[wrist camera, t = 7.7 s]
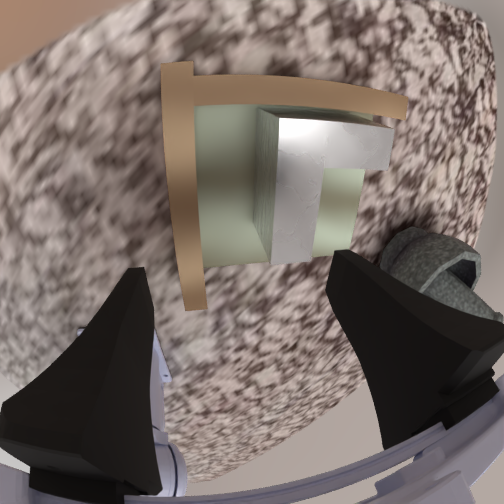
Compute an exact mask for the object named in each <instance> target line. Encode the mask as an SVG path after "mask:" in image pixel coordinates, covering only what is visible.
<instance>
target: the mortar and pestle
mask: <svg viewBox="0 0 504 504" xmlns="http://www.w3.org/2000/svg"><path fill="white" fill-rule="evenodd" d="M380 268H381V269H382V270H383V271H385V272H386V273H388V274H389V275H391V276H393V277H394V278H396V279H397V280H399V281H401V282H402V283H404V284H406V285H408V286H409V287H411V288H413V289H414V290H416V291H418V292H420V293H422V294H424V295H426V296H428V297H430V298H432V299H434V300H436V301H438V302H440V303H443V304H445V305H448V306H450V307H452V308H455V309H458V310H460V311H463V312H466V313H469V314H472V315H475V316H479V317H483V318H487V319H491V320H496V321H500V322H502V323H503V315H502V314H501V313H500V312H494V311H493V310H492V309H491V308H490V307H489V306H488V305H487V304H486V303H485V302H484V301H483V300H482V299H481V298H480V297H479V296H478V295H477V294H475V292H473V290H474V288H475V286H476V283H477V281H478V279H479V277H480V275H481V257H480V254H479V253H478V252H476V251H475V250H474V249H473V248H472V247H471V246H469V245H468V244H466V243H464V242H463V241H461V240H459V239H457V238H453V237H450V236H447V235H443V234H436V233H430V234H428V233H427V232H426V231H425V230H424V229H420V228H417V227H413V226H411V227H409V228H407V229H405V230H403V231H401V232H399V233H397V234H396V235H395V236H394V237H393V239H392V240H391V241H390V242H389V244H388V245H387V246H386V247H385V249H384V250H383V254H382V258H381V262H380Z"/></svg>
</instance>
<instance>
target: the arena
mask: <svg viewBox="0 0 504 504" xmlns="http://www.w3.org/2000/svg"><path fill="white" fill-rule="evenodd" d="M161 102H162V123H163V139H164V153H165V165H166V176H167V186H168V196H169V205H170V213H171V222H172V229H173V237H174V244H175V251H176V258H177V264H178V271H179V277H180V283H181V289H182V295H183V300H184V306H185V311H192V310H202V309H207V300H206V291H205V281H204V271H203V268H209V267H219V266H230V265H240V264H250V263H261V262H269V260H268V258H267V255H266V253H265V250H264V248H263V246H262V243H261V241H260V238H259V236H258V234H257V231H256V229H255V226H254V224H253V206H254V170H255V134H256V107H274V108H297V109H312V110H323V111H334V112H343V113H350V114H354V115H357V116H360V117H363V118H366V119H368V120H371V121H372V119H373V114H374V115H380V116H386V117H391V118H396V119H401V120H406V112H407V104H408V97H406V96H402V95H398V94H394V93H390V92H386V91H382V90H377V89H372V88H367V87H362V86H357V85H351V84H345V83H339V82H332V81H325V80H317V79H309V78H299V77H287V76H271V75H199V76H193V61H184V62H172V63H162V64H161ZM364 174H365V169H343V168H324V172H323V180H322V188H321V196H320V203H319V210H318V217H317V224H316V231H315V237H314V243H313V250H312V256H311V257H319V256H329V255H334V250H343V249H349V247H350V243H351V238H352V234H353V230H354V225H355V220H356V216H357V211H358V206H359V201H360V196H361V190H362V185H363V179H364Z"/></svg>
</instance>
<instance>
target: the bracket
mask: <svg viewBox="0 0 504 504" xmlns="http://www.w3.org/2000/svg"><path fill="white" fill-rule="evenodd" d="M394 131H395V129H393V128H390V127H388V126H385V125H382V124H380V123H377V122H374V121H371V120H368V119H366V118H363V117H360V116H357V115H354V114H350V113H343V112H334V111H323V110H312V109H297V108H274V107H256V134H255V170H254V206H253V224H254V226H255V229H256V231H257V234H258V236H259V238H260V241H261V243H262V246H263V248H264V250H265V253H266V255H267V258H268V260H269V263H270V265H279V264H288V263H298V262H307V261H311V256H312V250H313V243H314V237H315V231H316V224H317V217H318V210H319V203H320V196H321V188H322V180H323V172H324V168H343V169H369V170H387V171H388V167H389V161H390V156H391V150H392V144H393V137H394Z"/></svg>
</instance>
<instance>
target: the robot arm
mask: <svg viewBox="0 0 504 504" xmlns="http://www.w3.org/2000/svg"><path fill="white" fill-rule="evenodd" d="M325 291H326V293H327V296H328V299H329V302H330V304H331V307H332V309H333V312H334V314H335V316H336V317H337V319H338V321H339V323H340V325H341V327H342V329H343V330H344V332H345V334H346V336H347V338H348V340H349V341H350V343H351V345H352V347H353V349H354V351H355V353H356V355H357V357H358V359H359V361H360V364H361V366H362V369H363V372H364V374H365V377H366V380H367V383H368V386H369V389H370V392H371V395H372V398H373V402H374V406H375V410H376V414H377V418H378V422H379V427H380V432H381V438H382V445H383V448H384V451H382V452H380V453H378V454H375V455H373V456H371V457H368V458H365V459H363V460H360V461H358V462H355V463H352V464H350V465H347V466H344V467H341V468H338V469H335V470H332V471H329V472H325V473H322V474H319V475H316V476H312V477H308V478H305V479H301V480H297V481H293V482H289V483H284V484H280V485H275V486H270V487H265V488H259V489H254V490H247V491H241V492H234V493H225V494H215V495H203V496H184V495H185V492H186V488H187V468H186V463H185V460H184V457H183V455H182V454H181V452H180V451H179V449H178V448H177V447H176V445H174V444H173V443H169V442H168V433H167V432H163V431H164V428H165V416H164V387H163V382H171V381H172V377H171V374H170V371H169V369H168V366H167V363H166V360H165V358H164V355H163V352H162V349H161V346H160V343H159V340H158V337H157V334H156V331H155V328H154V306H153V302H152V298H151V294H150V290H149V286H148V282H147V278H146V273H145V269H144V267H138V268H128V269H127V270H126V272H125V273H124V275H123V276H122V277H121V279H120V280H119V282H118V283H117V285H116V286H115V288H114V289H113V291H112V292H111V294H110V295H109V296H108V298H107V299H106V301H105V302H104V304H103V305H102V306H101V308H100V309H99V311H98V312H97V313H96V315H95V316H94V317H93V319H92V320H91V321H90V322H89V324H88V325H87V326H86V328H85V329H78V331H77V335H78V337H77V338H76V340H75V341H74V342H73V343H72V344H71V345H70V346H69V347H68V348H67V349H66V350H65V351H64V352H63V353H62V354H61V355H60V356H59V357H58V358H57V359H56V360H55V361H54V362H53V363H52V364H51V365H50V366H49V367H48V368H47V369H46V370H45V371H43V372H42V373H41V374H40V375H39V376H38V377H37V378H35V379H34V380H33V381H32V382H30V383H29V384H28V385H27V386H25V387H24V388H23V389H21V390H20V391H19V392H17V393H16V394H15V395H13V396H12V397H10V398H9V399H7V400H6V401H4V402H3V404H2V407H1V412H0V447H1V448H2V449H3V450H5V451H6V452H7V453H9V454H10V455H12V456H13V457H15V458H17V459H18V460H20V461H22V462H24V463H25V464H27V465H28V466H30V474H29V473H26V472H24V471H21V470H19V469H15V468H13V467H10V466H7V465H4V464H1V463H0V504H290V503H294V502H298V501H301V500H305V499H309V498H312V497H316V496H319V495H322V494H326V493H329V492H332V491H335V490H338V489H340V488H343V487H346V486H349V485H352V484H354V483H357V482H359V481H362V480H364V479H367V478H369V477H372V476H374V475H376V474H378V473H381V472H383V471H385V470H387V469H389V468H391V467H393V466H396V465H398V464H400V463H402V462H404V461H406V460H407V459H410V458H411V457H413V456H415V455H416V456H415V457H414V459H413V462H412V463H411V464H408V465H407V466H405V467H403V468H401V469H399V470H398V471H396V472H395V473H393V474H391V475H389V476H387V477H385V478H384V479H382V480H380V481H377V482H376V483H375V487H376V490H377V492H378V493H377V495H375V496H372V497H370V498H368V499H365V500H363V501H360V502H358V503H355V504H475V500H474V497H473V495H472V493H471V490H470V487H471V486H472V485H473V484H474V483H475V482H476V481H477V480H478V479H479V478H480V477H481V476H482V475H483V474H484V472H485V471H486V470H487V469H488V468H489V467H490V466H491V465H492V464H493V462H494V461H495V460H496V459H497V458H498V457H499V455H500V454H501V453H502V452H503V450H504V374H503V375H502V376H501V377H499V378H498V379H497V380H496V381H495V382H494V380H493V379H492V377H493V376H494V374H495V372H494V370H493V369H492V366H493V365H494V364H495V362H497V360H498V359H499V358H500V357H501V355H502V354H503V353H504V324H503V323H502V322H500V321H496V320H491V319H487V318H483V317H479V316H475V315H472V314H469V313H466V312H463V311H460V310H458V309H455V308H452V307H450V306H448V305H445V304H443V303H440V302H438V301H436V300H434V299H432V298H430V297H428V296H426V295H424V294H422V293H420V292H418V291H416V290H414V289H413V288H411V287H409V286H408V285H406V284H404V283H402V282H401V281H399V280H397V279H396V278H394V277H393V276H391V275H389V274H388V273H386V272H385V271H383V270H382V269H380V268H378V267H377V266H375V265H374V264H372V263H371V262H369V261H368V260H366V259H364V258H363V257H361V256H359V255H358V254H356V253H354V252H353V251H351V250H349V249H343V250H334V255H333V259H332V264H331V268H330V272H329V277H328V281H327V285H326V289H325Z"/></svg>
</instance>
